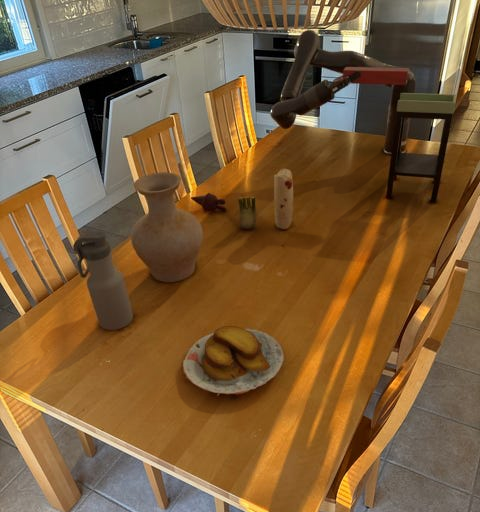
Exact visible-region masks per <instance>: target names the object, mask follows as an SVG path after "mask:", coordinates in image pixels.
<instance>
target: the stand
mask: <svg viewBox="0 0 480 512" xmlns="http://www.w3.org/2000/svg"><path fill="white" fill-rule="evenodd" d="M453 117H454V113H453V114H450V113H425V112H400V111H397V113H396V121H395V129H394V137H393V145H392V153H391V155H390V161H389V169H388V177H387V186H386V194H385V199H386V200H387V199H388V200H392V198H393V191H394V185H395V184H394V183H395V181H397V179H398V176H400V177H412V178H422V179H423V178H424V179H432V180H433V181H432V182H433V185H432V189H431V190H432V191H431V196H430V201H429V203H433V204H436V203H437V201H438V196H439V195H438V193H439V190H440V184H441V179H442V173H443V168H444V163H445V159H446V154H447V149H448V143H449V138H450V134H451V133H450V132H451V128H452V123H453V122H452V121H453ZM405 118H410V119H421V120H424V119H425V120H444V121H443V127H442V131H441V137H440V142H439V149H438V154H429V153H413V152H405V153H400V151H401V143H402V136H403V129H404V121H405Z"/></svg>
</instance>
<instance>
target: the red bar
mask: <svg viewBox="0 0 480 512" xmlns="http://www.w3.org/2000/svg"><path fill="white" fill-rule="evenodd" d="M409 70H410V68H409V67H400V68H374V67H345V69H344V70H343V74H342V75H343V78H345V77H346V76H349V75H351V74H353V73H354V72H356V71H359V72H360V74H361V76H360V77H359V78H357V79H356V80H354V81H352V82H351V83H350V84H355V85H357V84H358V85H384V84H387V85H406V83H407V80H412V75H414V73H413V72H412V73H408V71H409Z"/></svg>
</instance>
